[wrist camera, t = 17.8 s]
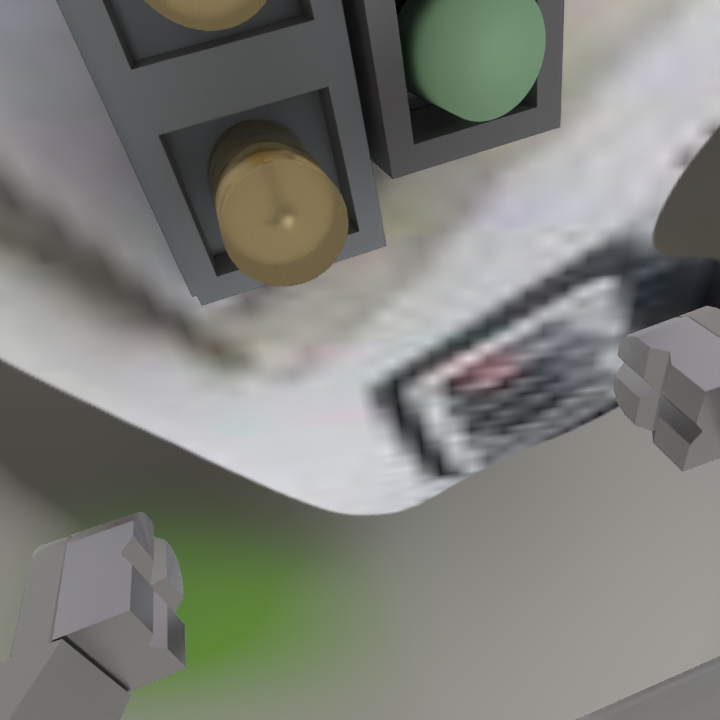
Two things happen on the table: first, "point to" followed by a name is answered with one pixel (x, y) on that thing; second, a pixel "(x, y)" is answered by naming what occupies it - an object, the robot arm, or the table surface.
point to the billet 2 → (275, 204)
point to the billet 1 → (207, 12)
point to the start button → (472, 53)
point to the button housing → (434, 124)
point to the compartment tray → (226, 113)
